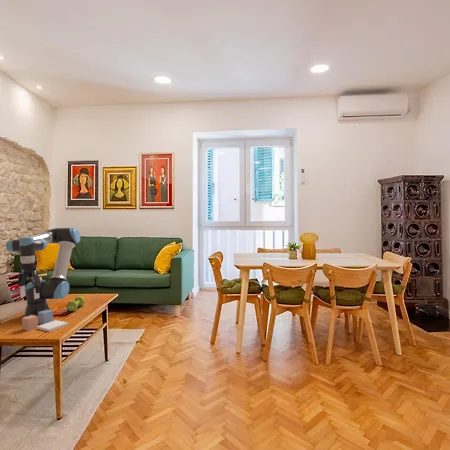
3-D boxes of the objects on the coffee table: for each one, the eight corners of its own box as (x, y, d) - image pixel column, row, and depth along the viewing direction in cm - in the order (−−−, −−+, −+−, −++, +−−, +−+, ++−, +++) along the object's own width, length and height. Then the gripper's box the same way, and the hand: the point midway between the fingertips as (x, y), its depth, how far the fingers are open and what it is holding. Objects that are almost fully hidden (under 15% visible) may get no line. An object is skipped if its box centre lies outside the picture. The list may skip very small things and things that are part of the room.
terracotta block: (22, 329, 190) (21, 317, 189) (32, 326, 195) (31, 314, 195) (28, 330, 187) (27, 319, 187) (38, 327, 192) (37, 316, 192)
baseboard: (37, 328, 190) (36, 326, 189) (55, 322, 200) (55, 320, 200) (49, 331, 184) (49, 329, 184) (68, 325, 195) (68, 322, 194)
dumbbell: (75, 305, 238) (75, 296, 238) (86, 305, 238) (85, 295, 238) (65, 312, 222) (64, 302, 222) (76, 311, 222) (76, 301, 222)
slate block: (38, 323, 200) (37, 312, 200) (47, 320, 206) (47, 309, 205) (44, 324, 198) (43, 313, 197) (53, 321, 203) (52, 310, 203)
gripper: (9, 262, 192) (11, 297, 193) (34, 264, 181) (36, 301, 182) (21, 260, 199) (23, 294, 199) (47, 262, 188) (48, 297, 188)
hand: (29, 297), depth 191 cm, fingers open, 13 cm apart
